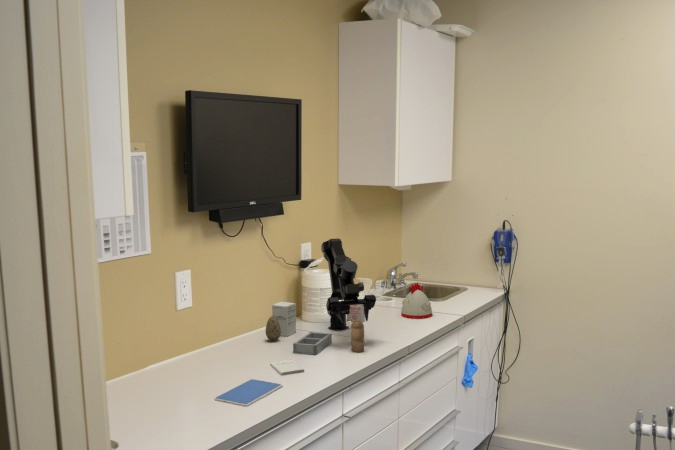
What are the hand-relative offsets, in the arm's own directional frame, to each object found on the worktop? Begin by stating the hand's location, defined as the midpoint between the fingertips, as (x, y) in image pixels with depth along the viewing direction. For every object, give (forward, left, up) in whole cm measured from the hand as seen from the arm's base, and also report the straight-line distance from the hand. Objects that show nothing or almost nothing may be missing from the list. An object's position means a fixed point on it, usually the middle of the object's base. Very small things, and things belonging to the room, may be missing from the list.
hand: (355, 321), depth 246 cm
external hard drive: (+33, -3, -11) cm, 35 cm away
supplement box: (+2, -36, -10) cm, 38 cm away
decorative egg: (+12, -32, -10) cm, 36 cm away
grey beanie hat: (-57, -11, -11) cm, 59 cm away
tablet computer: (+57, +5, -11) cm, 58 cm away
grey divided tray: (+9, -13, -10) cm, 19 cm away
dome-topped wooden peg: (+2, +3, -10) cm, 11 cm away
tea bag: (-32, -26, -10) cm, 43 cm away
